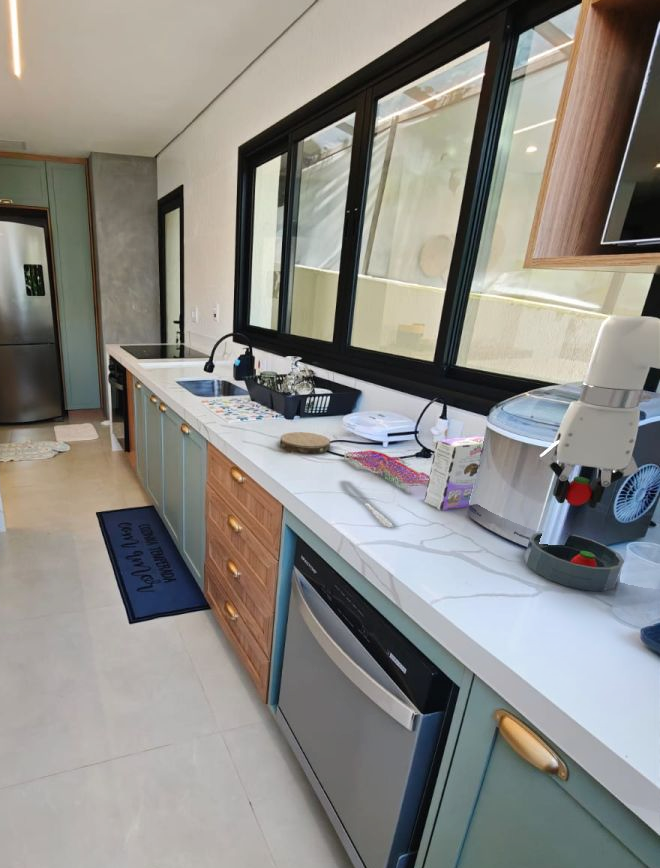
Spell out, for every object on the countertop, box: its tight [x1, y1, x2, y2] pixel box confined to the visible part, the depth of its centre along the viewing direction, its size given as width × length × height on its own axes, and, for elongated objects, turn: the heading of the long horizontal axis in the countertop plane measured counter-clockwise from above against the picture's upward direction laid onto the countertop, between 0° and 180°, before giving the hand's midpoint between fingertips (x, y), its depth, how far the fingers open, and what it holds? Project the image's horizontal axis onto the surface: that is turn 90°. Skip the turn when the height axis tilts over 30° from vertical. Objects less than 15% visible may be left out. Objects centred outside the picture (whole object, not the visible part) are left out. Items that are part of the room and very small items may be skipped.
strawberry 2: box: [571, 551, 597, 567], centre depth 92 cm, size 4×4×4 cm
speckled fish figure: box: [343, 450, 430, 493], centre depth 140 cm, size 30×15×5 cm, turn 13°
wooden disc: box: [279, 431, 331, 455], centre depth 163 cm, size 16×16×3 cm
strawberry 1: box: [565, 476, 592, 507], centre depth 86 cm, size 4×4×5 cm
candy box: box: [424, 435, 485, 511], centre depth 120 cm, size 14×6×16 cm, turn 111°
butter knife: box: [364, 502, 394, 529], centre depth 122 cm, size 1×27×3 cm
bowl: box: [523, 532, 625, 592], centre depth 94 cm, size 14×14×5 cm
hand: (574, 501), depth 87 cm, fingers closed on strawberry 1, 3 cm apart
